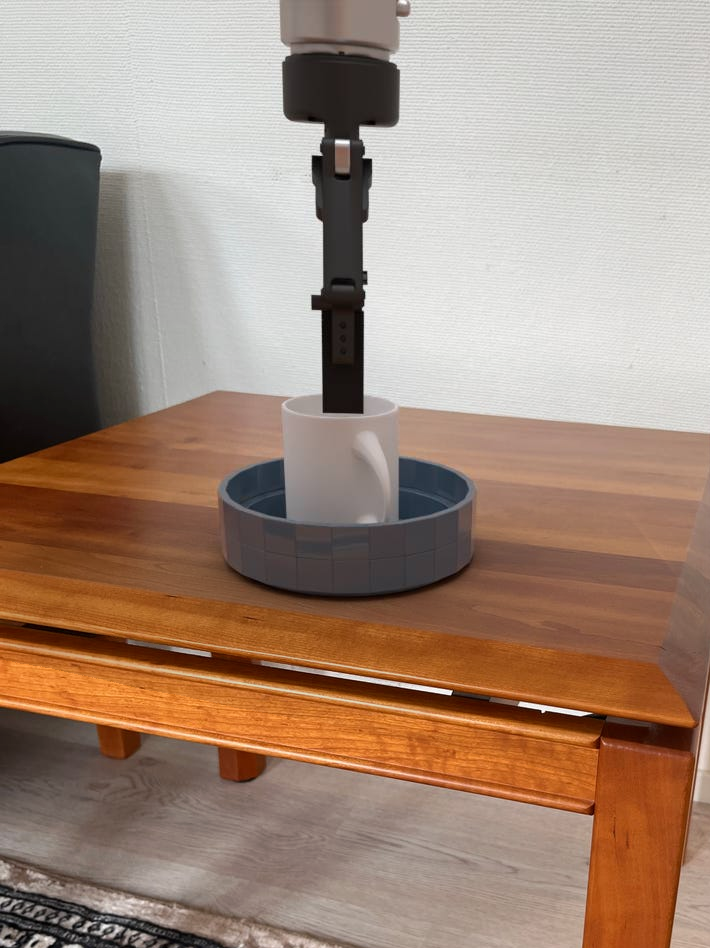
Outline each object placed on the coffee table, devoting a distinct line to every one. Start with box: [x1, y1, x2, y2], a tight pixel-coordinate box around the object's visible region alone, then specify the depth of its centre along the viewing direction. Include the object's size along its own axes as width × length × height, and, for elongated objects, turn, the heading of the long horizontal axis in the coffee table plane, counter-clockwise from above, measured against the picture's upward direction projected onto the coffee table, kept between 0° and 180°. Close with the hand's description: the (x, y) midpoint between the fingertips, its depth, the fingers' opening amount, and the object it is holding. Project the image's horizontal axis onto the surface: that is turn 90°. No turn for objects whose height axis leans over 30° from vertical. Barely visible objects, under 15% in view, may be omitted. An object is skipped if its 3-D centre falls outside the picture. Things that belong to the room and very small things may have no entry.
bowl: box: [216, 455, 478, 597], centre depth 78 cm, size 19×19×6 cm
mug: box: [281, 393, 400, 524], centre depth 76 cm, size 9×12×11 cm
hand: (342, 391), depth 74 cm, fingers open, 13 cm apart
